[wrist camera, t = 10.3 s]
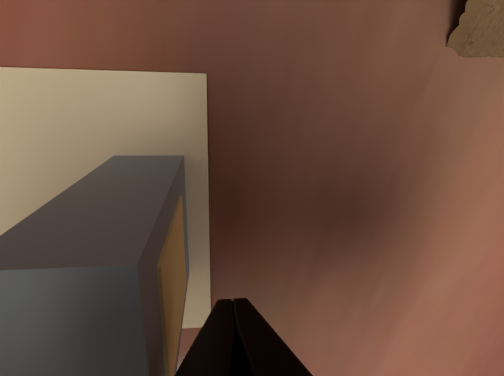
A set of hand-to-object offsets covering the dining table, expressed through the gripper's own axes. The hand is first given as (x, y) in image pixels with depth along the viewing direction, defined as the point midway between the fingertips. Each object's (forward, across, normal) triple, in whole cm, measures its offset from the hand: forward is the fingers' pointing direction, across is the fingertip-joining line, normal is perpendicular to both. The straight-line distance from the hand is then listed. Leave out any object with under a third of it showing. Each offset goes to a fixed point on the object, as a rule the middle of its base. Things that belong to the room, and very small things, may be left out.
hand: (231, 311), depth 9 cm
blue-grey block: (+7, +3, 0) cm, 7 cm away
